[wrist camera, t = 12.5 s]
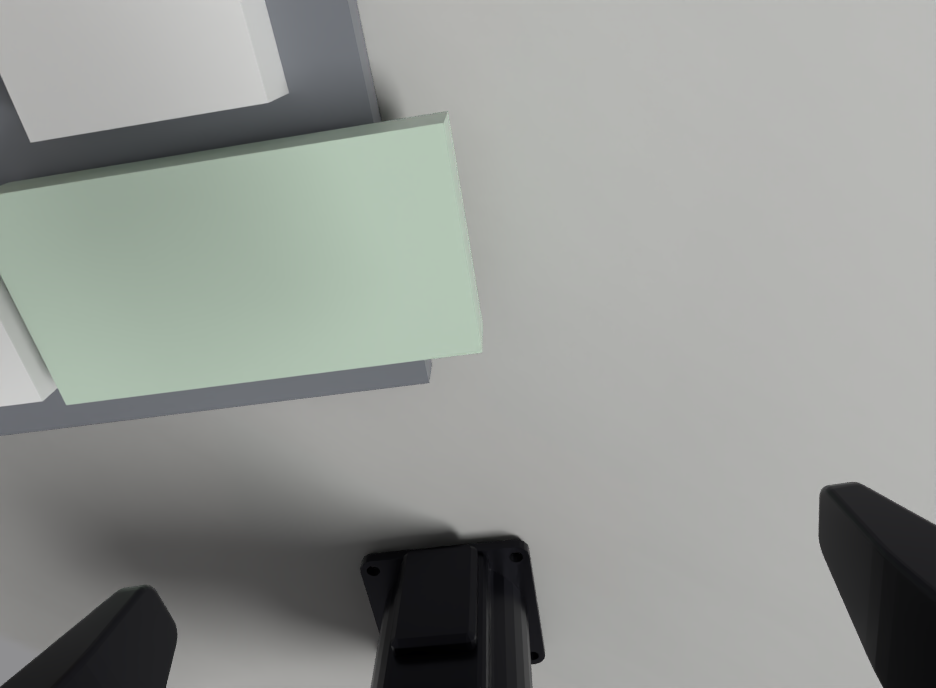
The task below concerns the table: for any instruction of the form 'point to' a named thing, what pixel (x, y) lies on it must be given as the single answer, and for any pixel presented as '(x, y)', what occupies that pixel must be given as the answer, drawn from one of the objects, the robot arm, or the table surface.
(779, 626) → the table surface
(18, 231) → the green key
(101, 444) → the table surface
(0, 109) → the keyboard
